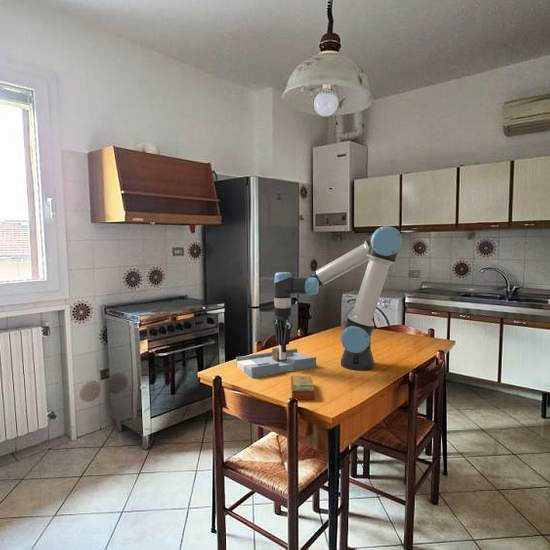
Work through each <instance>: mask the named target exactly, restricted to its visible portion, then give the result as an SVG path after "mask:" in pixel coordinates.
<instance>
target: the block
mask: <svg viewBox="0 0 550 550" xmlns="http://www.w3.org/2000/svg"><path fill="white" fill-rule="evenodd" d="M287 350H288V349H287V348H286V359H282V360H280V359H279V347H273V348H271V352H272V359H273V360H275V361H277V362H279V361H286V360H287Z"/></svg>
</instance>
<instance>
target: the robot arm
mask: <svg viewBox="0 0 550 550" xmlns="http://www.w3.org/2000/svg"><path fill="white" fill-rule="evenodd" d="M402 237H403V236H402V234H401V233H400V231H399V229H397V228H395V227H393V226H389V225H383V226H380V227H379V228H377V229H376V230H375V231H374V232H373V233H372V235H371V236H370V237H369V238H366V239H365V240H364V242H363V243H362V244H361V245H358V246H357V247H355V248H354V249H352V250H350V251H348V252H347V253H345V254H343V255H341V256H340V257H337V258H335V259H334V260H333V261H331V262H329V263H326V264H325V265H323V266H322V267H320V268H318V269H317V270H314V271H313V272H311V273H309V274H307V275H305V276H302V277H299V276H298V277H297V276H296V277H295V276H292V273H291V272H289V271H287V272H286V271H282V272H281V271H279V272H275V273H274V281H273V285H274V287H273V289H274V295H273V296H274V298H273V304H274V305H273V307H274V308H273V309H274V310H273V312H274V313H273V314H274V317H275V318H276V320H273V324H274V332H275V339H276V343H278V348H279V359H280V360H282V359H286V349H287V345H290V341H291V332H292V328H293V324H291V323H290V319H289V317H291V315H292V308H291V306H292V295H308V296H311V295H312V296H313V295H314V296H315V295H317V294H319V288H320V287H323V286H325V285H326V284H328V283H329V282H331V281H333V280H335V279H337V278H338V277H341V276H343V275H345V274H346V273H348V272H350V271H352V270H353V269H356V268H357V267H359V266H361V265H363V264H364V263H365V264H366V263H367V262H368V263H367V267H366V269H365V272H364V275H363V278H362V281H361V285H360V288H359V292H358V295H357V298H356V301H355V303H354V307H353V310H352V313H351V314H349V315H346V316H345V318H344V327H343V330H342V332H341V334H340V342H341V345H342V347H343V352H342V356H341V358H340V366H341V367H343V368H345V369H348V370H354V371H368V370H372V369H373V368H375V360H374V356H373V353H372V351H371V345H372V344H371V343H372V342H371V341H372V340H371V339H372V338H371V337H372V335H373V334H372V333H373V330H374V328H375V323H374V321H373V319H374V315H375V312H376V309H377V306H378V303H379V301H380V298H381V295H382V294H381V293H382V290H383V287H384V285H385V281H386V279H387V275H388V272H389V269H390V266H392V265H393V264H395V263H396V261H397V257H398V255H399V251H400V249H401V248H402V244H403V238H402Z"/></svg>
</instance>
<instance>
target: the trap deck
mask: <svg viewBox="0 0 550 550" xmlns="http://www.w3.org/2000/svg"><path fill="white" fill-rule="evenodd" d="M235 363H236V365H235V366H236V368H237V369H238V370H240V371H242V372H243V373H244V374H246V375H247V376H248V377H250V378H251V379H255V378H261V377H266V376H273V375H277V374H278V373H279V372H281V373H286V372H291V370H292V371H295V370H296V371H300V369H301V370H306V369H305V368H307V369H312V368H311V367H313V368H317V356H311V357H309V356H307V355H305V354H303V353H301V352H299V351H298V348H297V347H296V348H290V349H287V360H286V361H279V362H277V361H275V360H273V359H272V351H269V352H263V353H257V354H249V355H244V356H243V355H242V356H236V357H235ZM285 371H286V372H285ZM279 374H280V373H279Z"/></svg>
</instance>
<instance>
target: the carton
mask: <svg viewBox="0 0 550 550" xmlns="http://www.w3.org/2000/svg"><path fill="white" fill-rule="evenodd" d="M313 383H314V382H313V379H312V376H311V375H291V376H290V389H291V399H292V398H296V399H297V400H298V402H299V401H301V402H302V401H315V400H316V398H315V397H316V395H315V393H316V392H315V388H314V384H313Z"/></svg>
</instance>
